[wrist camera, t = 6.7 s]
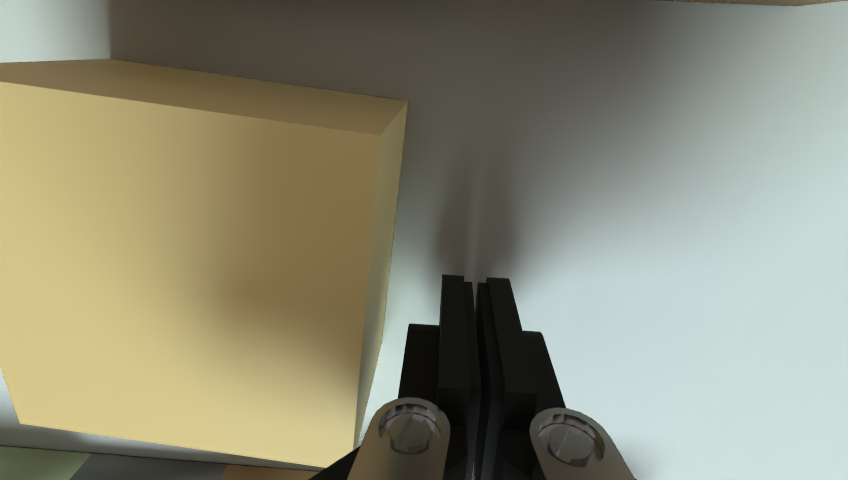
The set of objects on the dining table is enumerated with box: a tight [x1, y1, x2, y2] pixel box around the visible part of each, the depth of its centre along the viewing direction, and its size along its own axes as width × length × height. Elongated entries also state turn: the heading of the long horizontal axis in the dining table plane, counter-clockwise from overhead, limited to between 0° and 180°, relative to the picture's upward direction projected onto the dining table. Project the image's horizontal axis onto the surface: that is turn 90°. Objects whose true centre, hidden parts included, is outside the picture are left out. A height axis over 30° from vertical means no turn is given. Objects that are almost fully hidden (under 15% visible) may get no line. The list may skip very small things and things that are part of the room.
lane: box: [0, 0, 847, 480], centre depth 11 cm, size 26×23×4 cm
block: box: [0, 59, 408, 468], centre depth 10 cm, size 7×7×4 cm
